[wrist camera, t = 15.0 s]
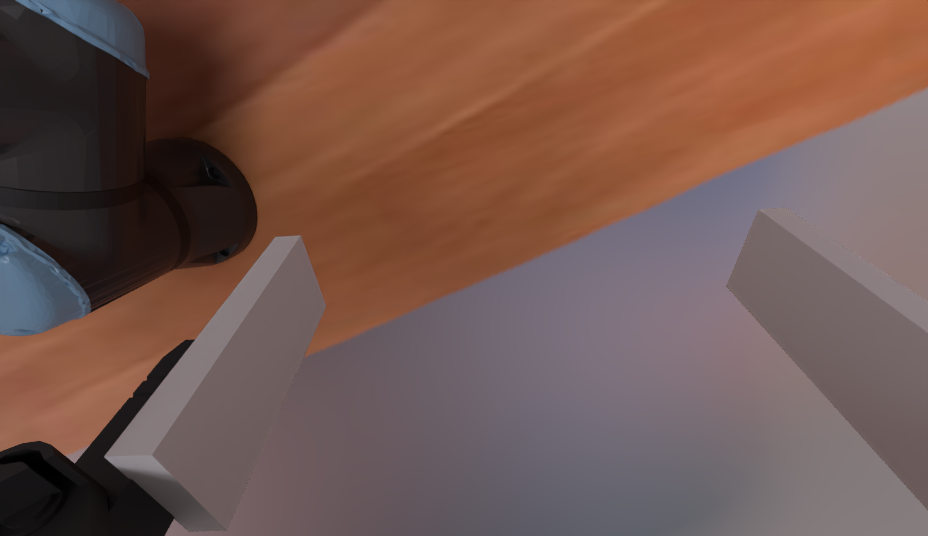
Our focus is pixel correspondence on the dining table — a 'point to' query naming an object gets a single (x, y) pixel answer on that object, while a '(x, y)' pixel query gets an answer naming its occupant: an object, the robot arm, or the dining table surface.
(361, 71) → the dining table surface
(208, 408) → the robot arm
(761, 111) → the dining table surface
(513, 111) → the dining table surface
